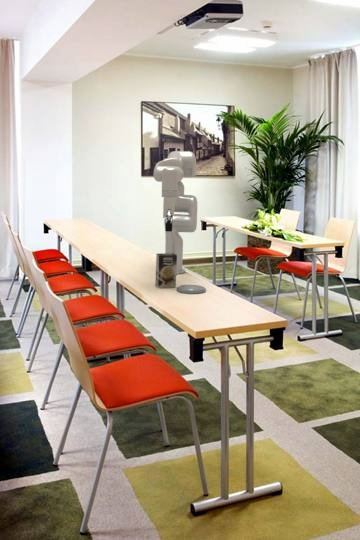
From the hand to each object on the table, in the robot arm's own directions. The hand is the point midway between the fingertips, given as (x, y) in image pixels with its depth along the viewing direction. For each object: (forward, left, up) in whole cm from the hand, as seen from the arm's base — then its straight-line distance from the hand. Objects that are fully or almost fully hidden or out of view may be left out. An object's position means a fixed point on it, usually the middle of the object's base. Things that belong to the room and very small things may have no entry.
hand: (168, 229), depth 295 cm
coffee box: (-1, -1, -28) cm, 28 cm away
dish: (+7, +11, -28) cm, 31 cm away
